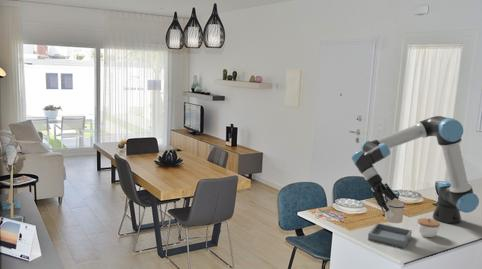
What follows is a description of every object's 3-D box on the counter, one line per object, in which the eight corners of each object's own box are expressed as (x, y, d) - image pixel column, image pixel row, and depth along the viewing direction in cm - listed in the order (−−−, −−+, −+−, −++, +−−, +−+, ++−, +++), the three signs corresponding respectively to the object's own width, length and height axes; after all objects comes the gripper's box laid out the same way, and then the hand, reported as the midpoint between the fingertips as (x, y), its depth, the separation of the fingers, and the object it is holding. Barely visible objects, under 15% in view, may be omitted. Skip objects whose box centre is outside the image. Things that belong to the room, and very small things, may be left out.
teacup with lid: (406, 221, 214) (408, 199, 212) (396, 224, 208) (399, 202, 207) (385, 214, 223) (387, 193, 221) (375, 217, 217) (377, 196, 216)
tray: (411, 236, 220) (411, 230, 220) (404, 248, 205) (405, 241, 205) (376, 228, 230) (377, 222, 229) (367, 239, 214) (368, 233, 214)
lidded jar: (428, 240, 216) (430, 223, 214) (412, 233, 225) (413, 216, 224) (442, 237, 220) (444, 220, 219) (426, 230, 230) (427, 214, 228)
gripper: (378, 178, 232) (402, 213, 222) (356, 184, 217) (381, 222, 208) (387, 170, 227) (413, 206, 218) (365, 176, 213) (391, 215, 203)
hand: (397, 214), depth 213 cm, fingers closed on teacup with lid, 9 cm apart
